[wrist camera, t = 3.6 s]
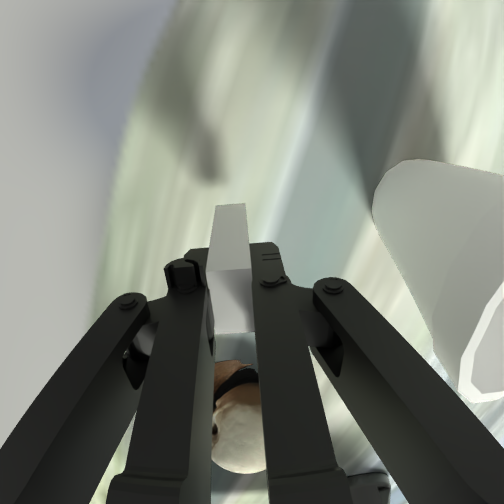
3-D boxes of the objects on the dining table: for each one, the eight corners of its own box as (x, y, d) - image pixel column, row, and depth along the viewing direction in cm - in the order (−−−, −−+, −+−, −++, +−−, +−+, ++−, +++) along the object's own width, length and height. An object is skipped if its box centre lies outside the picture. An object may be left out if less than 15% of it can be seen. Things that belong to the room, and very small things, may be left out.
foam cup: (352, 276, 22) (433, 429, 11) (341, 144, 18) (489, 228, 6) (459, 251, 22) (565, 357, 10) (464, 133, 18) (617, 194, 6)
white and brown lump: (261, 454, 31) (204, 502, 22) (206, 385, 35) (138, 416, 26) (341, 403, 27) (294, 462, 18) (271, 322, 31) (201, 348, 22)
